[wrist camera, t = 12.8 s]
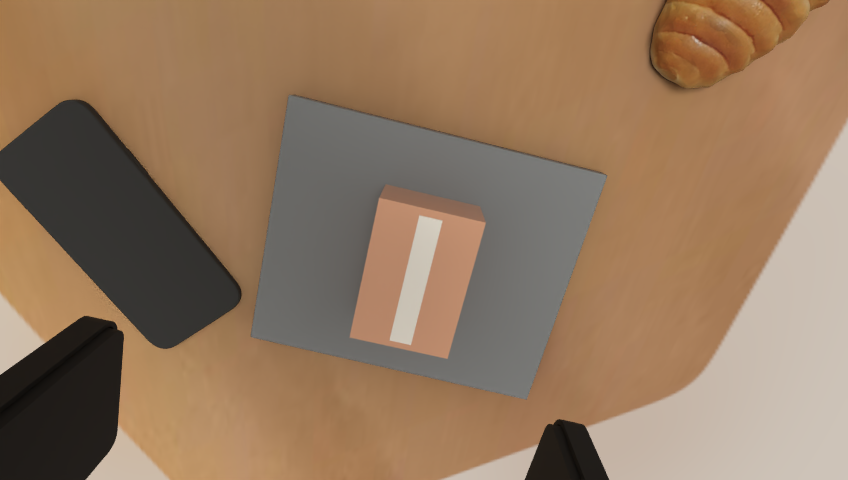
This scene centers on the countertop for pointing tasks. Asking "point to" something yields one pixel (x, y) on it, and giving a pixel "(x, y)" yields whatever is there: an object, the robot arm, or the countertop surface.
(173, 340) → the phone
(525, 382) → the rubber mat
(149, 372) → the countertop surface
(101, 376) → the robot arm
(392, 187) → the striped peach box
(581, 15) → the countertop surface
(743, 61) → the pastry
